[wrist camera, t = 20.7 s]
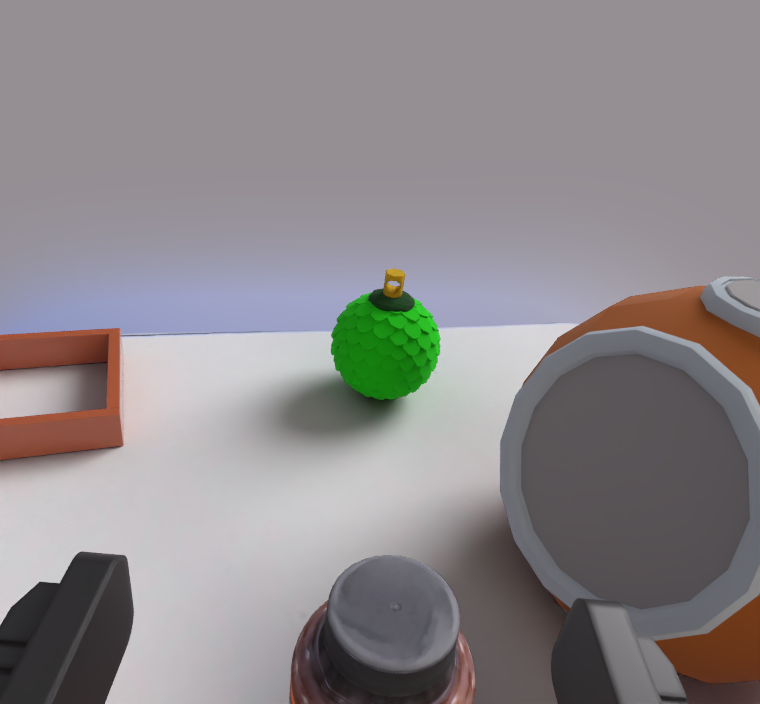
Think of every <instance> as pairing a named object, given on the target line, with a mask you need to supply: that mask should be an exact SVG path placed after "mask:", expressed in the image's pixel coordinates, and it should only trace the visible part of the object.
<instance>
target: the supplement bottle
mask: <svg viewBox="0 0 760 704" xmlns="http://www.w3.org/2000/svg"><path fill="white" fill-rule="evenodd" d="M474 695H475V671H474V665H473V660H472V655H471V653H470V650H469V646H468V644H467V642H466V639H465V637H464V636H463V634H462V632H461V630H460V612H459V607H458V604H457V600H456V598H455V596H454V594H453V592H452V590H451V588H450V587H449V586H448V585H447V583H446V582H445V580H444V579H443V578H442V577H441V576H440V575H438V574H437V573H436V572H435V571H433V570H432V569H431V568H429V567H428V566H426V565H424V564H422V563H420V562H417V561H415V560H412V559H409V558H406V557H401V556H391V555H388V556H386V555H384V556H375V557H371V558H367V559H364V560H362V561H360V562H358V563H355V564H353V565H352V566H350V567H349V568H348V569H346V570H345V571H344V572H343V573H342V574H341V575H340V576H339V577H338V578H337V580H336V582H335V584H334V585H333V587H332V590H331V592H330V595H329V600H327V601H326V602H325V603H324V604H323V605H322V606H320V607H319V608H318V609H317V610H316V611H315V612H314V614H313V615H312V616H311V617H310V619H309V620H308V622H307V623H306V625H305V626H304V628H303V630H302V632H301V634H300V636H299V638H298V641H297V644H296V646H295V650H294V653H293V659H292V666H291V683H290V697H289V704H473V701H474Z"/></svg>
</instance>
